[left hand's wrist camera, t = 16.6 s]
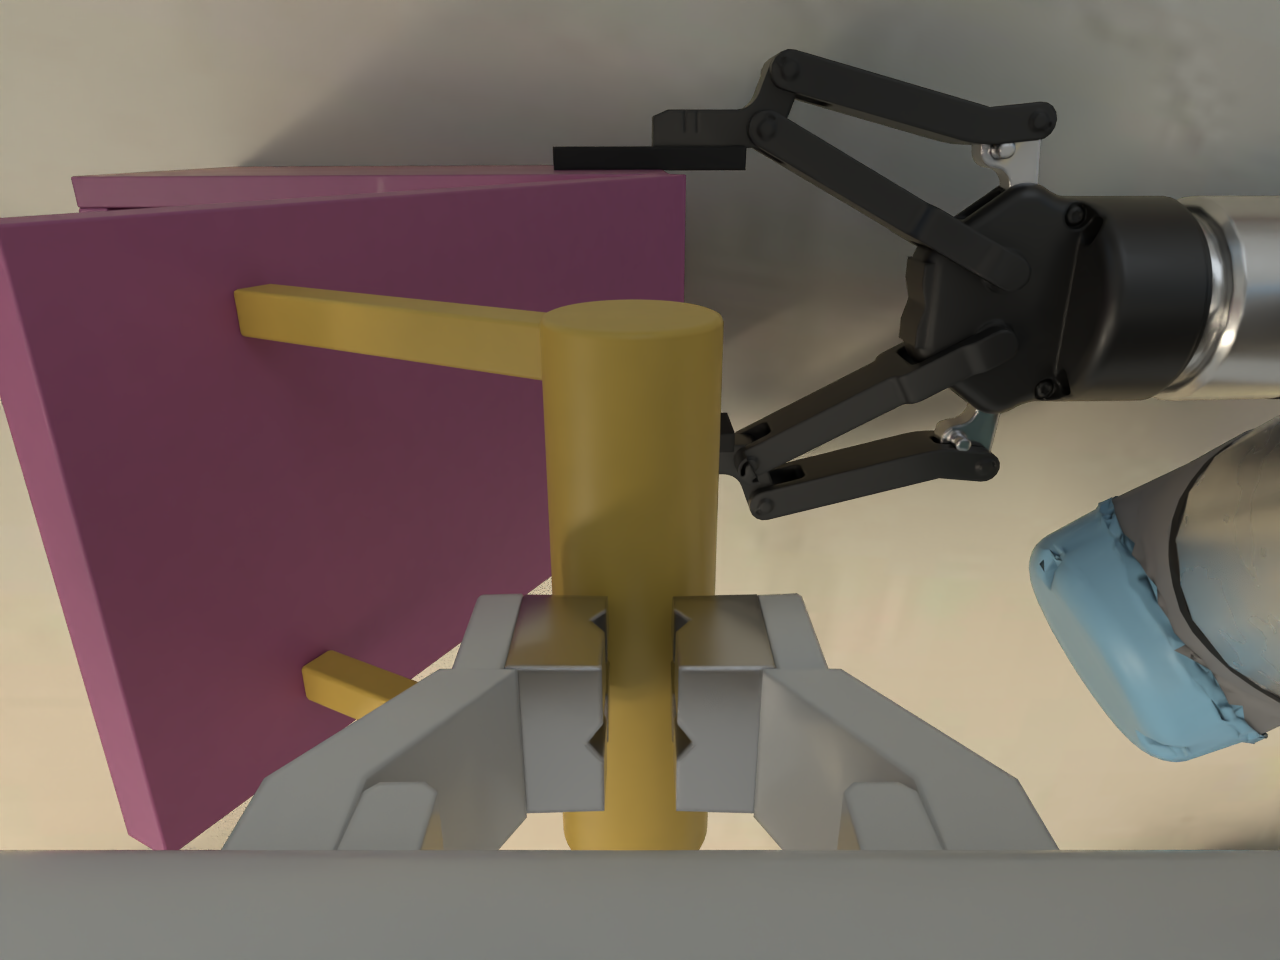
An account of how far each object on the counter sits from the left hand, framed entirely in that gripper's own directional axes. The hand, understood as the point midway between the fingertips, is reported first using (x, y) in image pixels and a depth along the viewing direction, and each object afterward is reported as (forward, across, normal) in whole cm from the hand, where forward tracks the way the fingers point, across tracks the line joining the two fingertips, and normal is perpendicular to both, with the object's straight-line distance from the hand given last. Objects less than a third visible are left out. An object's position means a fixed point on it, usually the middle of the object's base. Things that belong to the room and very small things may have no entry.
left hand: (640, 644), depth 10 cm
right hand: (+23, +3, 0) cm, 23 cm away
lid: (+10, +4, 0) cm, 10 cm away
